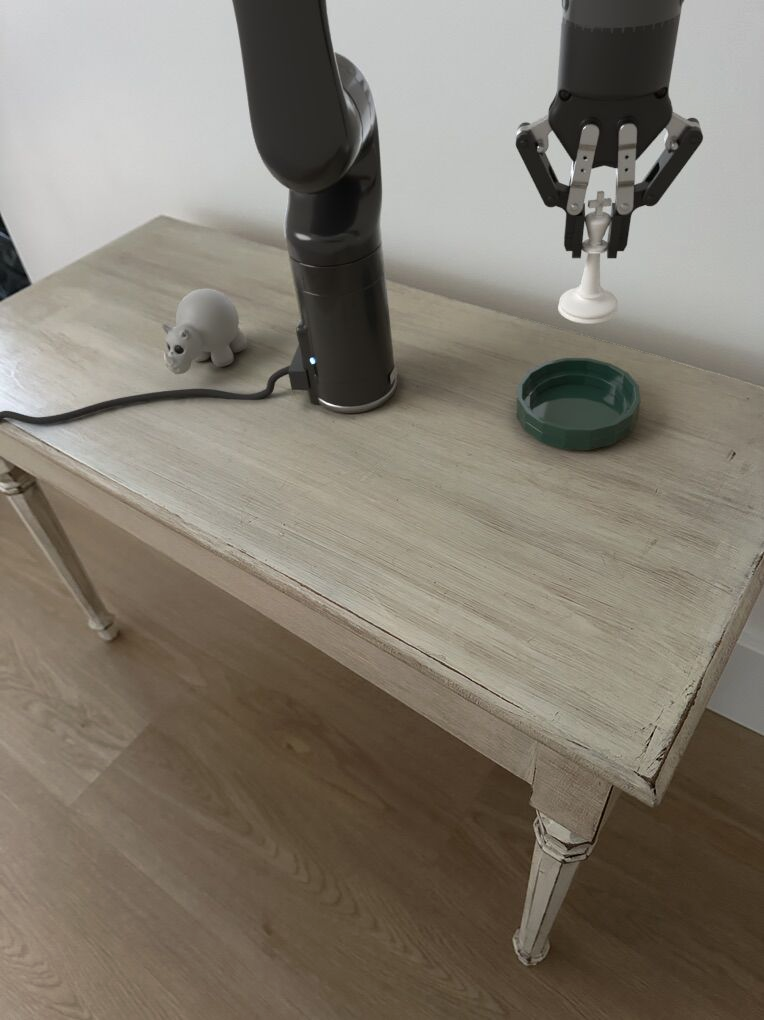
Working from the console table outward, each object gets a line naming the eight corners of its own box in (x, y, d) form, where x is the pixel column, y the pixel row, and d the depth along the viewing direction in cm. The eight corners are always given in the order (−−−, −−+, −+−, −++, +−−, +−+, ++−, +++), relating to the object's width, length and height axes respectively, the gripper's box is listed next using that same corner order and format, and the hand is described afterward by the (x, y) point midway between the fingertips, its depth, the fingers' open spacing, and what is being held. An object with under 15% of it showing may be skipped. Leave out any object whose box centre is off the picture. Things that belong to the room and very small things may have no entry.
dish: (514, 451, 79) (515, 428, 77) (518, 380, 87) (519, 357, 85) (640, 455, 77) (644, 431, 75) (631, 381, 85) (635, 358, 83)
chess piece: (552, 296, 69) (561, 182, 62) (608, 290, 69) (624, 175, 62) (565, 327, 65) (576, 210, 58) (624, 320, 65) (643, 202, 58)
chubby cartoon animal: (151, 388, 93) (128, 325, 87) (211, 334, 100) (193, 272, 94) (200, 401, 90) (180, 337, 84) (258, 344, 97) (243, 281, 91)
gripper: (726, -15, 53) (679, 232, 65) (516, -4, 55) (509, 232, 67) (743, 16, 48) (688, 278, 60) (510, 27, 50) (503, 276, 62)
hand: (593, 253), depth 64 cm, fingers closed on chess piece
